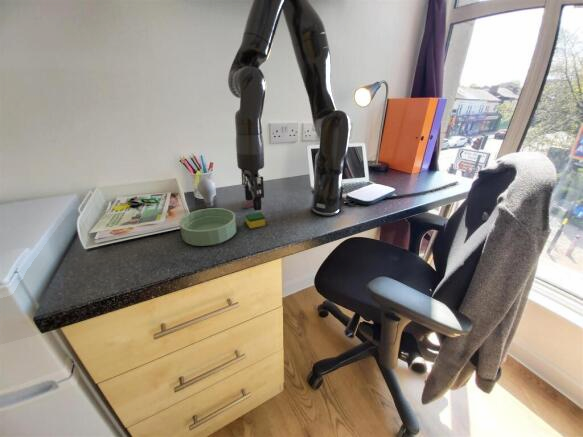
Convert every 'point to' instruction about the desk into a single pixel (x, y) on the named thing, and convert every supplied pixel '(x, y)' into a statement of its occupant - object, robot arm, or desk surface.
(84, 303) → the desk surface
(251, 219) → the sponge
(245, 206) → the pink knobbly lump
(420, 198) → the desk surface
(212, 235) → the bowl
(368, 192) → the external hard drive
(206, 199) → the lightbulb
